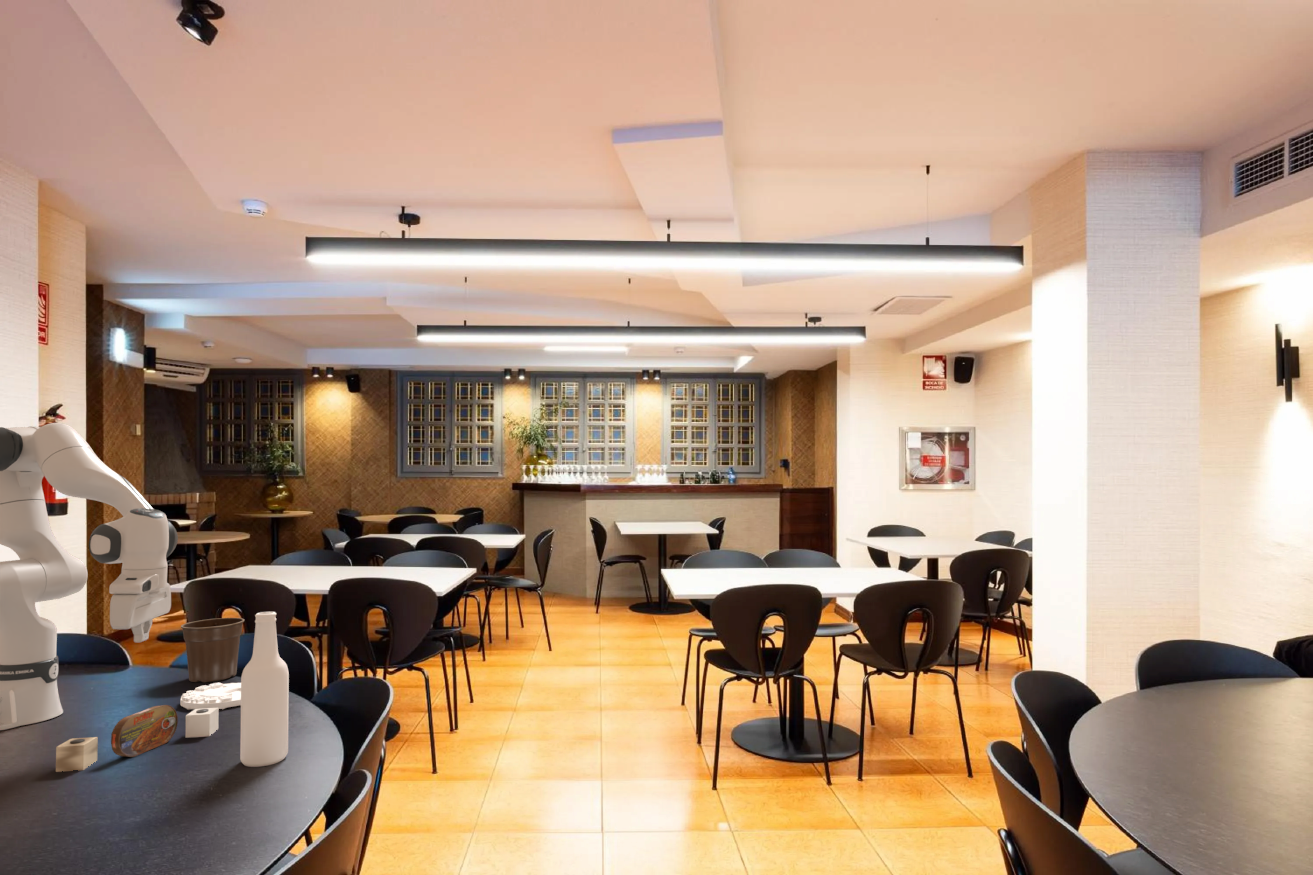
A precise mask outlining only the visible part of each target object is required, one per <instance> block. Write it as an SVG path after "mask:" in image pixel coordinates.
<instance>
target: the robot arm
mask: <svg viewBox="0 0 1313 875" xmlns="http://www.w3.org/2000/svg"><path fill="white" fill-rule="evenodd" d="M44 478H45V479H46V481H47V483H48V484H49V485H50V486H52V488H54V489H55V490H56V491H57V492H58V493H60V494H62V495H65V496H68V497H72V498H80V499H85V500H91V501H97V502H101V503H103V504H107V505H109V506H112V507H114V508H115V509H116V510H117V511H118V512H119V513H120V514H121V515H122V517H120V518H117V519H116V520H113V521H109V522H106V523H102V524H100V525H98V526H97V527H96V528H94V529H93V530H92V532H91V534H90V536H89V541H88V550H89V553H90V555H91V557H92V558H93V559H94V560H96V562H99V563H100V564H106V565H107V564H108V565H112V564H113V565H114V564H121V563H122V564H121V571H120V574H119V576H117V577H116V579H114V581H112V582H111V584H109V594H111V595H112V596H111V598H110V601H109V602H110V603H109V624H110V627H111V629H112V630H129V629H131V631H132V634H133V642H134V643H142V642H144V641H145V642H146V641H147V640H149V636H150V635H149V634H150V631H151V628H152V625H153V620H154V619H155V618H159V617H160V616H164V615H166V614H168V613H170V610H171V608H172V589H171V585H170V583H168V568H169V567H168V561H167V558H168V557H169V556H170V555H171V554H172V553H173V552H174V550H175V549H176V547H177V544H178V540H179V536H178V532H177V529H176V528H175V526H174V525H173V524H172V522H171V521H169V520H168V518H167V515H166V513H165V512H163V511H161V510H159V509H155V508H153V507H152V506H151V504H150V503H149V502H148V501H147V499H146V498H145V497H144V496H143V495H142V494H141V493H140V492H139V491H138V490H137V489H136V487H135V486H134V485H133V484H132V483H131V482H130V481H129V480H128V479H126V477H124V476H122V475H121V474H119V473H117V472H116V471H114V470H113V469H111V468H110V467H109V466H108V465H107V464H105V462H103V461H102V460H101V459H100V457H98V455H97V454H96V453H95V452H94V450H93V449H92V447H91V446H90V444H89V443H88V442H87V441H86V440H85V438H84V437H83V436H82V435H81V434H80V433H79V432H78V431H77V430H76V429H75V428H74V427H73V426H71V425H69V424H67V423H63V422H51V423H47V424H44V425H42V426H27V427H25V426H24V427H23V426H19V427H18V426H16V427H2V426H1V427H0V545H1V546H4V547H7V548H8V549H11V551H13V552H14V553H15V554H16V555H17V556H18V558H19V559H15V560H5V561H0V731H4V730H5V731H6V730H9V729H13V728H17V727H20V726H21V727H22V726H25V725H26V726H27V725H31V724H36V723H40V722H44V721H47V720H50V719H53V718H56V717H58V716H61V715H62V714H63V713H64V709H63V706H62V704H61V700H60V695H59V690H58V677H59V656H58V655H57V644H58V643H57V642H58V641H57V640H58V639H57V638H58V629H57V625H55V623H54V622H53V621H52V620H50V619H48V618H45V617H42V616H40V615H39V614H38V611H37V609H36V603H40V602H45V601H46V602H47V601H53V600H59V599H63V598H66V597H69V596H72V595H74V594H76V593H79V592H80V591H81V590H83V589H84V587H85V585H86V584H87V581H88V575H89V574H88V569H87V566H86V565H85V562H83V561H82V560H81V559H80V558H78V557H76V556H74V555H72V554H71V553H69V551H67V550H66V549H65V547H63V546H62V545H61V543H60V542H59V541H58V540H57V537H55V535H54V533H53V530H52V527H51V524H50V520H49V515H48V511H47V504H46V499H45V494H44V490H43V484H42V482H43V479H44Z"/></svg>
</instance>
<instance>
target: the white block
mask: <svg viewBox="0 0 1313 875" xmlns="http://www.w3.org/2000/svg"><path fill="white" fill-rule="evenodd" d="M219 711H220V710H219V708H203V709H192V710H191V711H190V712H188V713H187V714H186V715H185V738H187V739H188V738H204V737H210V736H212V735H213V734H214V733H215V732H217V731H218V730H219ZM216 730H217V731H216ZM211 734H212V735H211Z"/></svg>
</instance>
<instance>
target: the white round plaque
mask: <svg viewBox="0 0 1313 875" xmlns="http://www.w3.org/2000/svg"><path fill="white" fill-rule="evenodd" d="M185 692H186V693H182V695H181V696H180V701H179V702H180V706H181V707H183V708H184V709H186V710H188V711H190V710H191V711H192V710H195V709H203V708H219V709H222V710H225V709H227V708H231V707H232V708H233V707H237V706H241V682H230V683H221V682H220V681H219V682H218V681H217V682H213V683H210V684H208V685H206V684H205V685H200V686H198V687H195V689H194V690H187V691H185Z"/></svg>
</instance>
